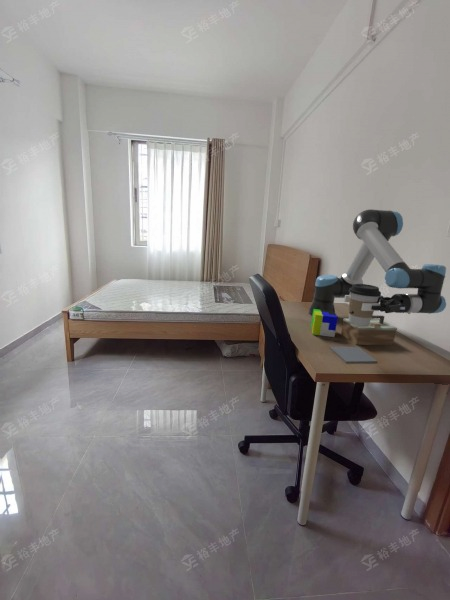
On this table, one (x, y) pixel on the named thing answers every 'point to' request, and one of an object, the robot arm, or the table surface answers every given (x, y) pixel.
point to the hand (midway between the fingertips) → (353, 302)
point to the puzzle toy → (324, 322)
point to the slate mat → (353, 355)
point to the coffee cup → (357, 297)
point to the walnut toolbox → (370, 332)
